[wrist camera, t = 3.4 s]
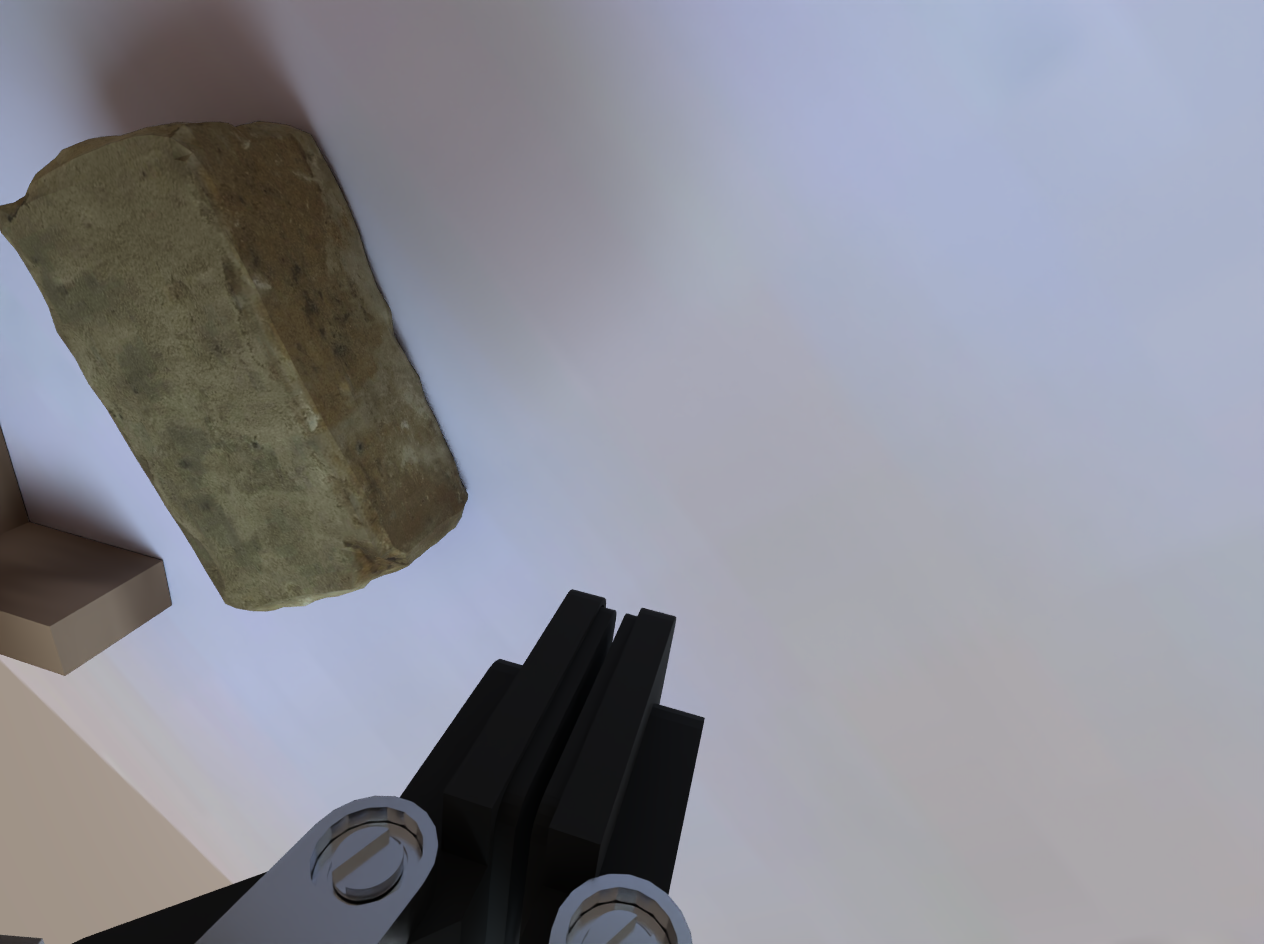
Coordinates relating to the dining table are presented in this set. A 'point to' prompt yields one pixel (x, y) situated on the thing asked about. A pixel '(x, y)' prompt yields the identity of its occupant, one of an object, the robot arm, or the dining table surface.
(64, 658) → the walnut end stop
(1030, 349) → the dining table surface
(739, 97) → the dining table surface
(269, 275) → the stone block
